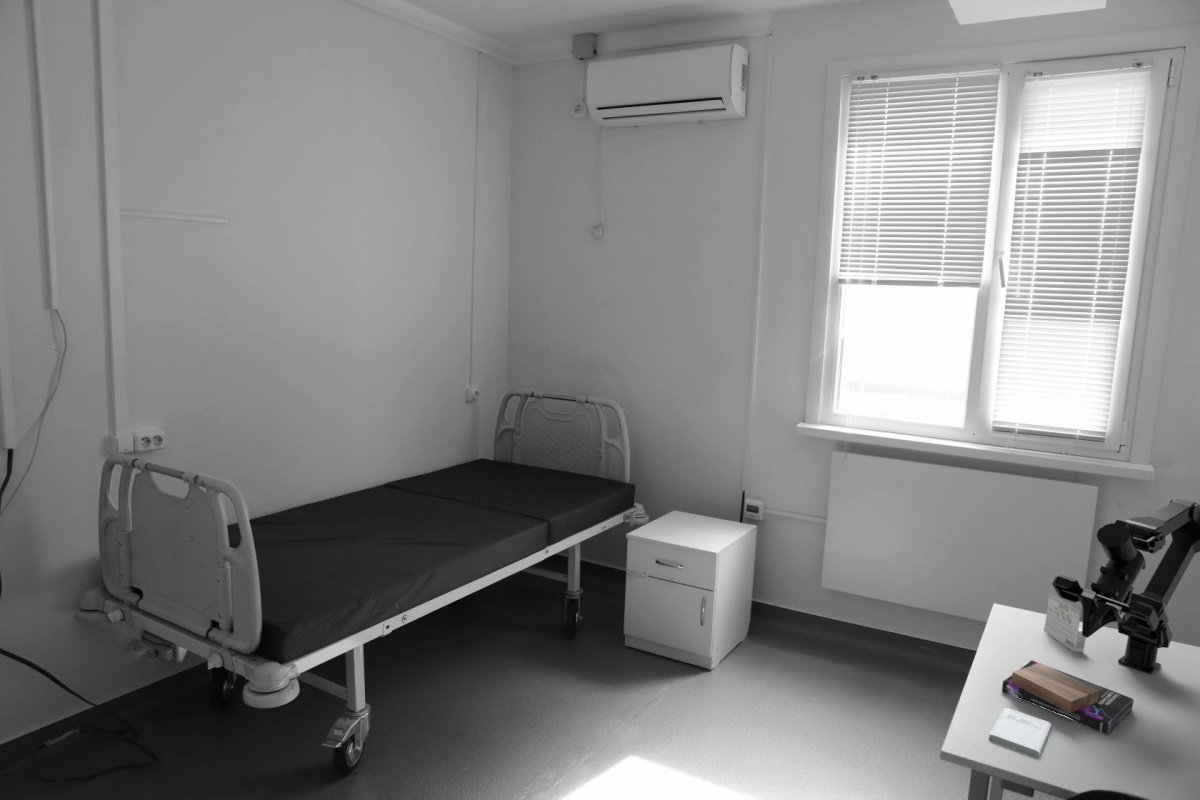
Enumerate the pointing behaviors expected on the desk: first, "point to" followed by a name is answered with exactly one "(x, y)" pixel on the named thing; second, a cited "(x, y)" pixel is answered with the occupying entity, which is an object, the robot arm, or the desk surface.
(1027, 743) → the external hard drive
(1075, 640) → the ink cartridge box
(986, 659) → the desk surface
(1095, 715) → the box
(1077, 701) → the walnut board
